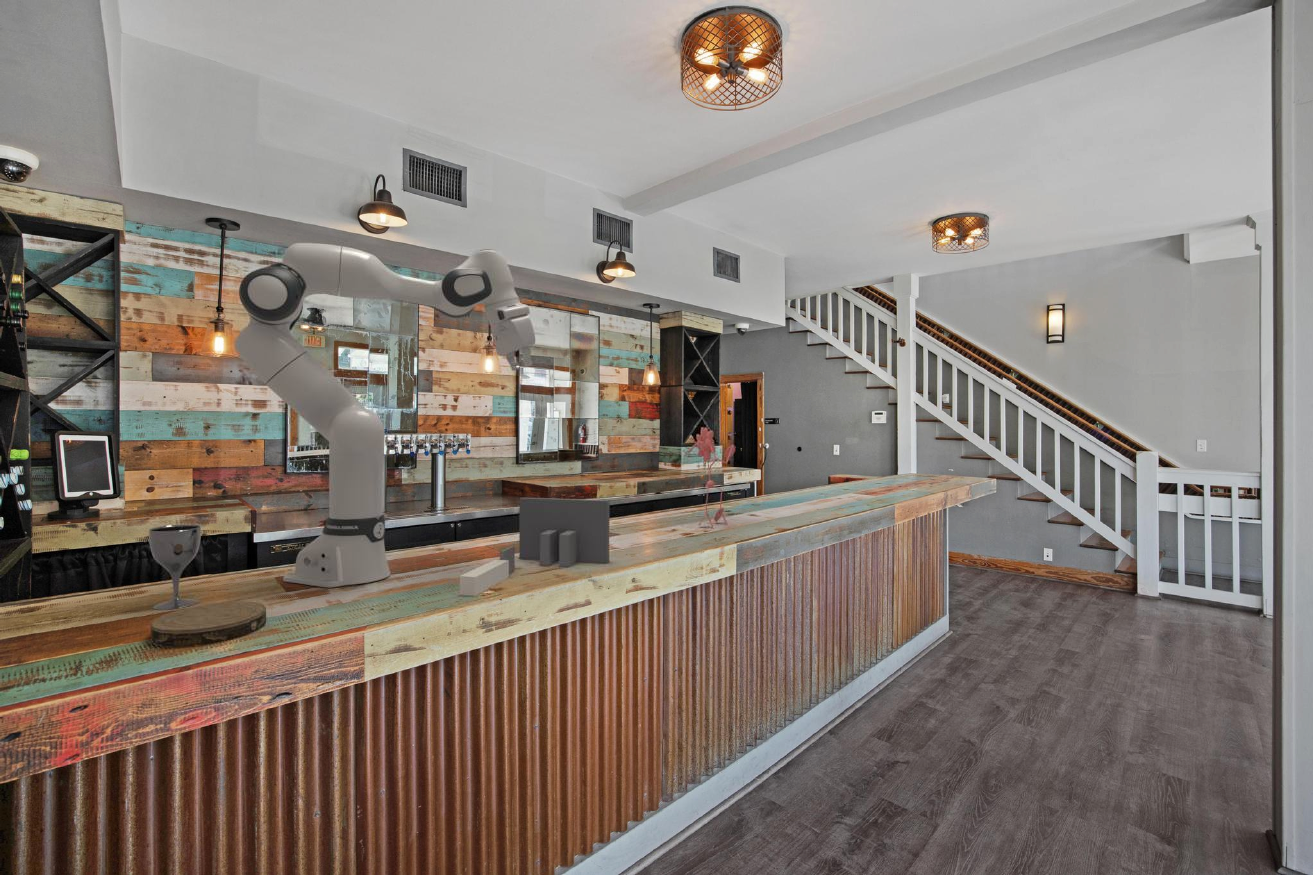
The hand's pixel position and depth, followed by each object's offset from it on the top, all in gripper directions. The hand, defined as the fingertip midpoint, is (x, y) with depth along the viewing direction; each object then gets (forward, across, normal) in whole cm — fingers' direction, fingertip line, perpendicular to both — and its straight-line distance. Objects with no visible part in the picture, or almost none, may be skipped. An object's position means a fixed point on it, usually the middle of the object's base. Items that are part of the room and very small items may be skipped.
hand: (522, 368), depth 157 cm
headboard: (+50, +4, -8) cm, 51 cm away
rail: (+44, +14, -27) cm, 53 cm away
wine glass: (+26, 0, -82) cm, 86 cm away
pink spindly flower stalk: (+70, -28, +58) cm, 95 cm away
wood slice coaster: (+29, +21, -76) cm, 84 cm away
